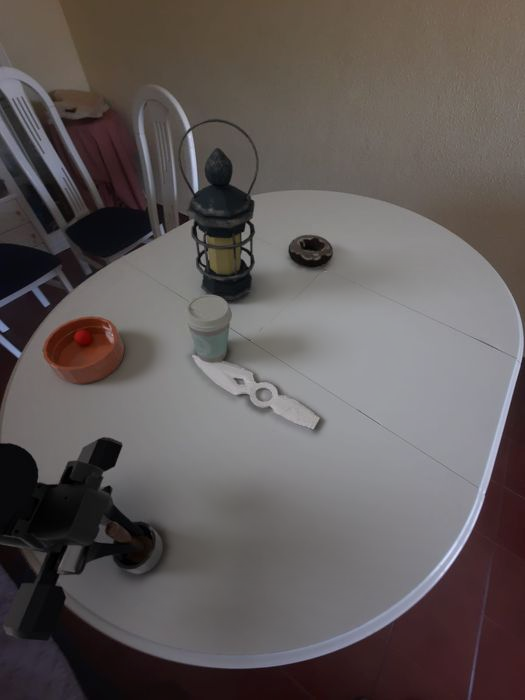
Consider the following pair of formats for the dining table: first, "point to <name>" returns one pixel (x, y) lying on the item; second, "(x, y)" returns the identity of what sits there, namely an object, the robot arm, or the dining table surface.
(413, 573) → the dining table surface
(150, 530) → the utensil holder
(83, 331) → the cherry tomato
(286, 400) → the knife
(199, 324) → the coffee cup
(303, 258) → the donut
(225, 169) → the lantern
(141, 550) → the brown wooden rod
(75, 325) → the bowl
